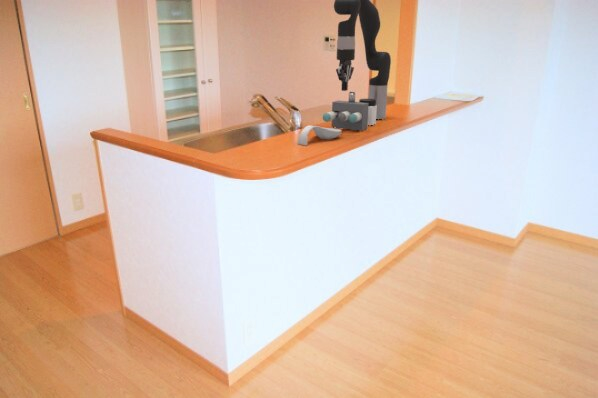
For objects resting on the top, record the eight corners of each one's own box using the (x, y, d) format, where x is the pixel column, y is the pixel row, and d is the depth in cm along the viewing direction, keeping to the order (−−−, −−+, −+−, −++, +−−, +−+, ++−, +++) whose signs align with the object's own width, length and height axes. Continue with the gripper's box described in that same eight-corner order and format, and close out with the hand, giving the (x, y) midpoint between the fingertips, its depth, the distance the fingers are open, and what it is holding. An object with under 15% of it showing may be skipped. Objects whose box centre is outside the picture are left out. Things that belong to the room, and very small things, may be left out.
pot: (350, 101, 224) (350, 91, 223) (356, 101, 223) (356, 91, 221) (347, 102, 222) (347, 92, 220) (353, 102, 220) (353, 92, 219)
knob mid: (347, 117, 226) (348, 109, 225) (355, 118, 225) (356, 109, 223) (337, 121, 218) (337, 112, 216) (345, 122, 216) (345, 113, 215)
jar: (357, 126, 231) (358, 100, 227) (357, 122, 238) (358, 98, 234) (376, 126, 230) (377, 101, 226) (375, 123, 238) (376, 98, 234)
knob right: (358, 118, 224) (359, 110, 222) (366, 119, 222) (366, 110, 221) (348, 122, 215) (348, 113, 214) (356, 123, 213) (357, 114, 212)
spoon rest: (324, 134, 214) (324, 118, 212) (346, 137, 207) (347, 121, 205) (290, 143, 196) (290, 126, 194) (314, 148, 190) (314, 130, 187)
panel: (337, 125, 231) (338, 100, 227) (367, 128, 224) (368, 103, 220) (331, 127, 227) (332, 102, 223) (361, 131, 219) (363, 104, 215)
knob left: (333, 117, 226) (333, 109, 225) (341, 118, 224) (341, 110, 223) (322, 121, 217) (322, 112, 216) (330, 122, 215) (330, 113, 214)
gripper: (344, 47, 207) (343, 88, 213) (330, 48, 196) (329, 91, 202) (360, 47, 203) (358, 89, 209) (347, 48, 192) (345, 92, 198)
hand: (344, 90), depth 205 cm, fingers closed
